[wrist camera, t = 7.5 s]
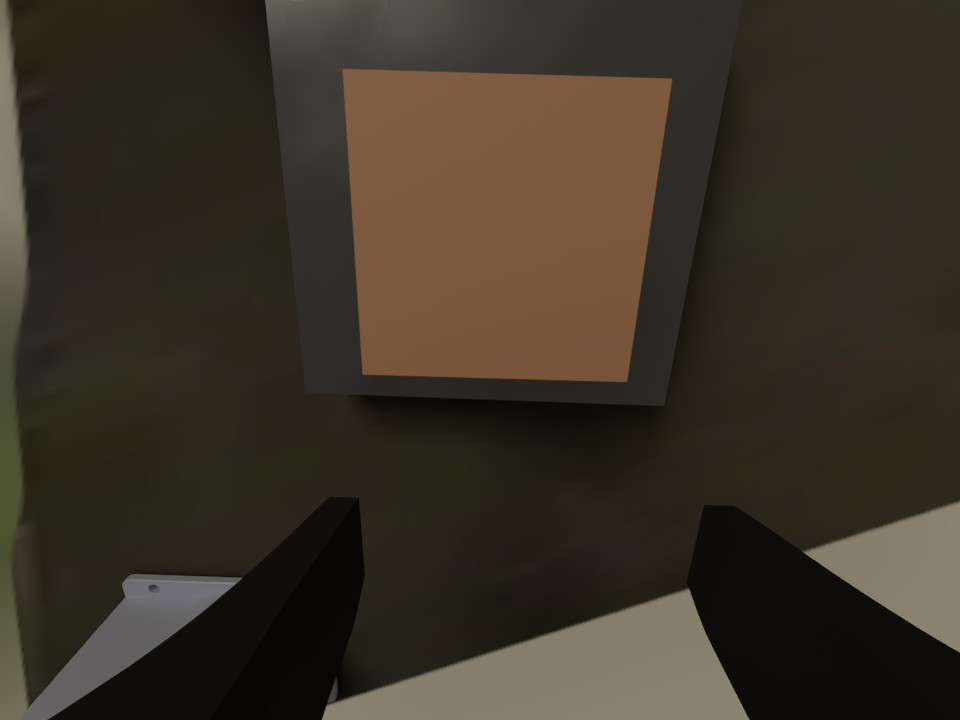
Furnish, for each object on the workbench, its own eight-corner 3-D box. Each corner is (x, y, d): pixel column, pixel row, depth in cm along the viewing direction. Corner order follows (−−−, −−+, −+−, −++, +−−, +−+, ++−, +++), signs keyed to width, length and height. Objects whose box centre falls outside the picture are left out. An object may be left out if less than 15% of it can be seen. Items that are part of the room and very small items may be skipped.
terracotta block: (409, 301, 14) (362, 374, 9) (405, 121, 13) (342, 68, 7) (571, 306, 14) (627, 382, 9) (589, 126, 13) (672, 78, 7)
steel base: (332, 361, 18) (305, 392, 16) (303, -8, 14) (259, -56, 11) (636, 372, 18) (664, 405, 16) (697, 8, 14) (749, -36, 11)
